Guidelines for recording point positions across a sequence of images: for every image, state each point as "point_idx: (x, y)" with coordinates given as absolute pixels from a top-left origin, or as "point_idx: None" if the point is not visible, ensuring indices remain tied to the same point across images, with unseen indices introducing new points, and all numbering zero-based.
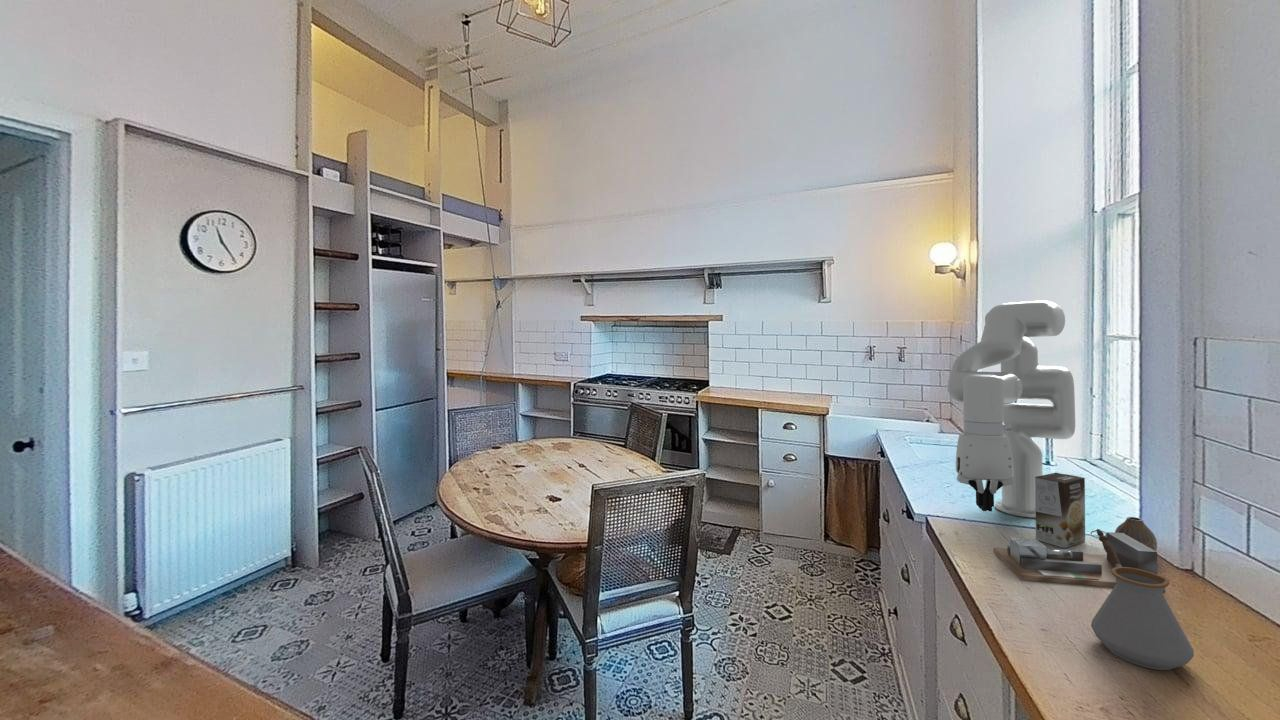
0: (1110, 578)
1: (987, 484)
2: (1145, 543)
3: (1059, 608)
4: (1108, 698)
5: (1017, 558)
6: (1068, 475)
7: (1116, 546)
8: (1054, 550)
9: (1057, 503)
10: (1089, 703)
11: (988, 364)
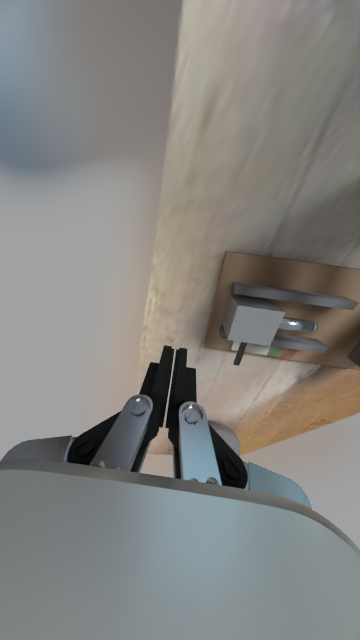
0: (312, 354)
1: (182, 442)
2: None
3: (201, 390)
4: (162, 450)
5: (224, 319)
6: None
7: None
8: (290, 328)
9: None
10: (150, 451)
11: None
